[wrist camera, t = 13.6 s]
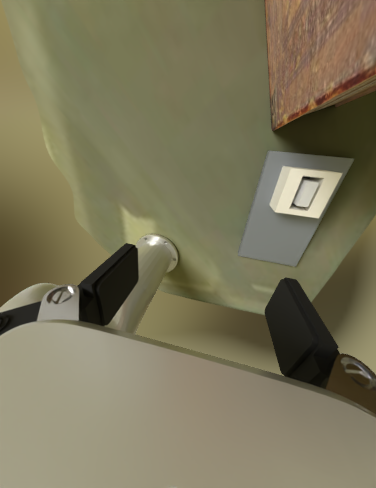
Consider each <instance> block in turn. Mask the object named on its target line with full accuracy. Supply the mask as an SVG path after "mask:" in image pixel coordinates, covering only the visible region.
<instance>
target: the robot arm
mask: <svg viewBox="0 0 376 488" xmlns="http://www.w3.org/2000/svg"><path fill="white" fill-rule="evenodd" d="M177 262H178V252H177V249H176V247H175V246H174V244H173V243H172V242H171V241H170V240H168V239H167V238H165V237H163V236H161V235H157V234H148V235H145V236H143V237H142V238H140V239H139V240H138V242H137V243H136V246H135V245H132V244H128V243H126V244H125V245H124V246H122V247H121V248H120V249H119V250H118V251H117V252H115V253H114V254H113V255H112V256H111V257H110V258H108V259H107V260H106V261H105V262H104V263H103V264H101V265H100V266H99V267H98V268H97V269H96V270H95V271H93V272H92V273H91V274H90V275H89V276H88V277H86V279H84V280H83V281H82V282H81V283H80V284H79V285H78V286H76V285H72V284H65V285H61V286H57V285H54V284H50V283H41V284H36V285H34V286H31V287H29V288H27V289H25V290H23V291H22V292H20V293H19V294H17V295H16V296H14V297H13V298H12V299H10V300H9V301H8V302H6V303H5V304H4V305H3V306H2V307H1V308H0V488H376V375H375V373H374V372H373V371H372V370H371V369H370V368H369V367H368V366H366V365H365V364H364V363H363V362H361V361H360V360H358V359H357V358H355V357H353V356H351V355H348V354H343V353H342V354H340V353H339V351H338V350H337V348H338V345H337V344H336V342H335V341H334V339H333V337H332V336H331V334H330V332H329V331H328V329H327V328H326V326H325V324H324V323H323V321H322V320H321V318H320V316H319V315H318V313H317V312H316V310H315V308H314V307H313V305H312V303H311V302H310V300H309V299H308V297H307V295H306V294H305V292H304V291H303V289H302V287H301V286H300V284H299V282H298V281H297V280H295V279H290V278H284V279H281V280H280V282H279V284H278V286H277V288H276V290H275V291H274V293H273V295H272V297H271V299H270V301H269V303H268V305H267V306H266V308H265V316H266V319H267V323H268V327H269V330H270V334H271V338H272V341H273V345H274V349H275V353H276V356H277V360H278V363H279V367H280V371H281V373H282V374H283V375H284V376H282V375H278V374H275V373H271V372H267V371H264V370H261V369H257V368H254V367H250V366H247V365H243V364H239V363H236V362H233V361H229V360H225V359H222V358H218V357H215V356H211V355H208V354H204V353H200V352H197V351H193V350H190V349H186V348H182V347H179V346H175V345H172V344H168V343H164V342H161V341H157V340H153V339H150V338H146V337H142V336H139V335H135V333H136V331H137V328H138V326H139V324H140V322H141V320H142V318H143V316H144V314H145V312H146V310H147V308H148V306H149V304H150V302H151V300H152V298H153V297H154V295H155V293H156V291H157V289H158V287H159V285H160V283H161V281H162V279H163V278H164V276H165V274H166V273H167V272H170V271H172V270H173V269H174V268H175V266H176V265H177Z"/></svg>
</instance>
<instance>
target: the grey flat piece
mask: <svg viewBox="0 0 376 488" xmlns="http://www.w3.org/2000/svg"><path fill="white" fill-rule="evenodd" d="M353 161H354V159H352V158H341V157H331V156H320V155H309V154H299V153H288V152H278V151H268V152H267V155H266V159H265V162H264V166H263V169H262V172H261V176H260V179H259V183H258V186H257V189H256V193H255V196H254V200H253V203H252V206H251V210H250V213H249V217H248V220H247V223H246V227H245V230H244V234H243V237H242V240H241V244H240V247H239V251H238V256H243V257H248V258H253V259H258V260H264V261H269V262H274V263H279V264H285V265H290V266H295V267H296V265H297V263H298V262H299V260H300V258H301V256H302V254H303V252H304V251H305V249H306V247H307V245H308V243H309V241H310V240H311V238H312V236H313V234H314V232H315V230H316V229H317V227H318V225H319V223H320V221H321V219H322V218H323V216H324V214H325V212H326V210H327V208H328V207H329V205H330V203H331V201H332V199H333V198H334V196H335V194H336V192H337V190H338V188H339V187H340V185H341V183H342V181H343V179H344V177H345V176H346V174H347V172H348V170H349V168H350V166H351V165H352V163H353ZM283 166H288V167H298V168H308V169H318V170H327V171H333V172H339V173H343V174H342V176H341V177H340V179H339V181H338V183H337V185H336V187H335V189H334V191H333V193H332V195H331V196H330V198H329V200H328V202H327V204H326V206H325V208H324V210H323V212H322V213H321V215H320V217H319V218H312V217H305V216H298V215H291V214H284V213H277V212H274V210H273V209H272V208H271V207H270V202H271V199H272V196H273V193H274V190H275V187H276V184H277V182H278V179H279V176H280V173H281V170H282V167H283ZM309 179H310V177H309V176H303V177H302V179H301V182H300V184H299V187H298V189H297V191H296V194H295V196H294V199H293V201H292V203H293V204H295V205H297V206H301V207H308V206H309V204H310V201H311V199H312V197H313V195H314V193H315V191H316V189H317V187H318V185H319V182H316V181H313V180H309Z"/></svg>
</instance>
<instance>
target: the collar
mask: <svg viewBox="0 0 376 488" xmlns="http://www.w3.org/2000/svg"><path fill="white" fill-rule="evenodd" d="M342 174H343V173H339V172H333V171H327V170H318V169H308V168H298V167H288V166H283V167H282V170H281V173H280V176H279V179H278V182H277V184H276V187H275V190H274V193H273V196H272V199H271V202H270V207H271V208H272V209H273V210H274V212H277V213H284V214H291V215H298V216H305V217H312V218H319V217H320V215H321V213H322V212H323V210H324V208H325V206H326V204H327V202H328V200H329V198H330V196H331V195H332V193H333V191H334V189H335V187H336V185H337V183H338V181H339V179H340V177H341V176H342ZM303 176H309V177H310V179H309V180H313V181H316V182H319V185H318V187H317V189H316V191H315V193H314V195H313V197H312V199H311V201H310V204H309V206H308V207H301V206H297V205H295V204H293V203H292V201H293V199H294V196H295V194H296V191H297V189H298V187H299V184H300V182H301V179H302V177H303Z"/></svg>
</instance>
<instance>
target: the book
mask: <svg viewBox="0 0 376 488" xmlns="http://www.w3.org/2000/svg"><path fill="white" fill-rule="evenodd" d="M265 17H266V35H267V53H268V71H269V89H270V107H271V125H272V131H274V130H276V129H278V128H280V127H282V126H284V125H286V124H288V123H289V122H291V121H293V120H295V119H297V118H299V117H301V116H303V115H306V114H309V113H311V112H314V111H317V110H320V109H323V108H326V107H328V106H331V105H334V104H335V107H338V106H341V105H343V104H346V103H348V102H350V101H353V100H355V99H357V98H360V97H362V96H364V95H367V94H369V93H371V92H374V91H376V0H265Z"/></svg>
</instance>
